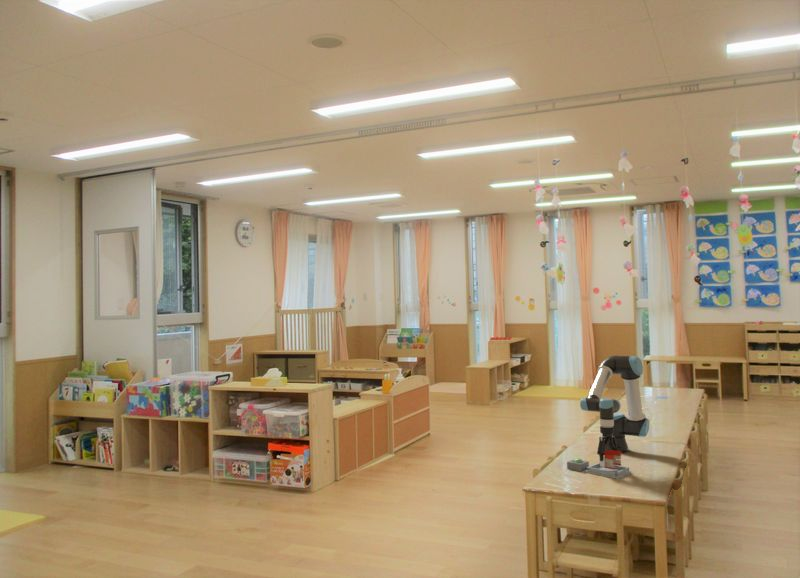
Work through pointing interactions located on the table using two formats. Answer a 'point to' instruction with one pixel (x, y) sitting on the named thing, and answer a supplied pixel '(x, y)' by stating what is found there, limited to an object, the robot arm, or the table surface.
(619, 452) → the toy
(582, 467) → the grey square holder
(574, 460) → the button
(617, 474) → the grey tray
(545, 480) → the table surface
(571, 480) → the table surface
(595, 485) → the table surface
